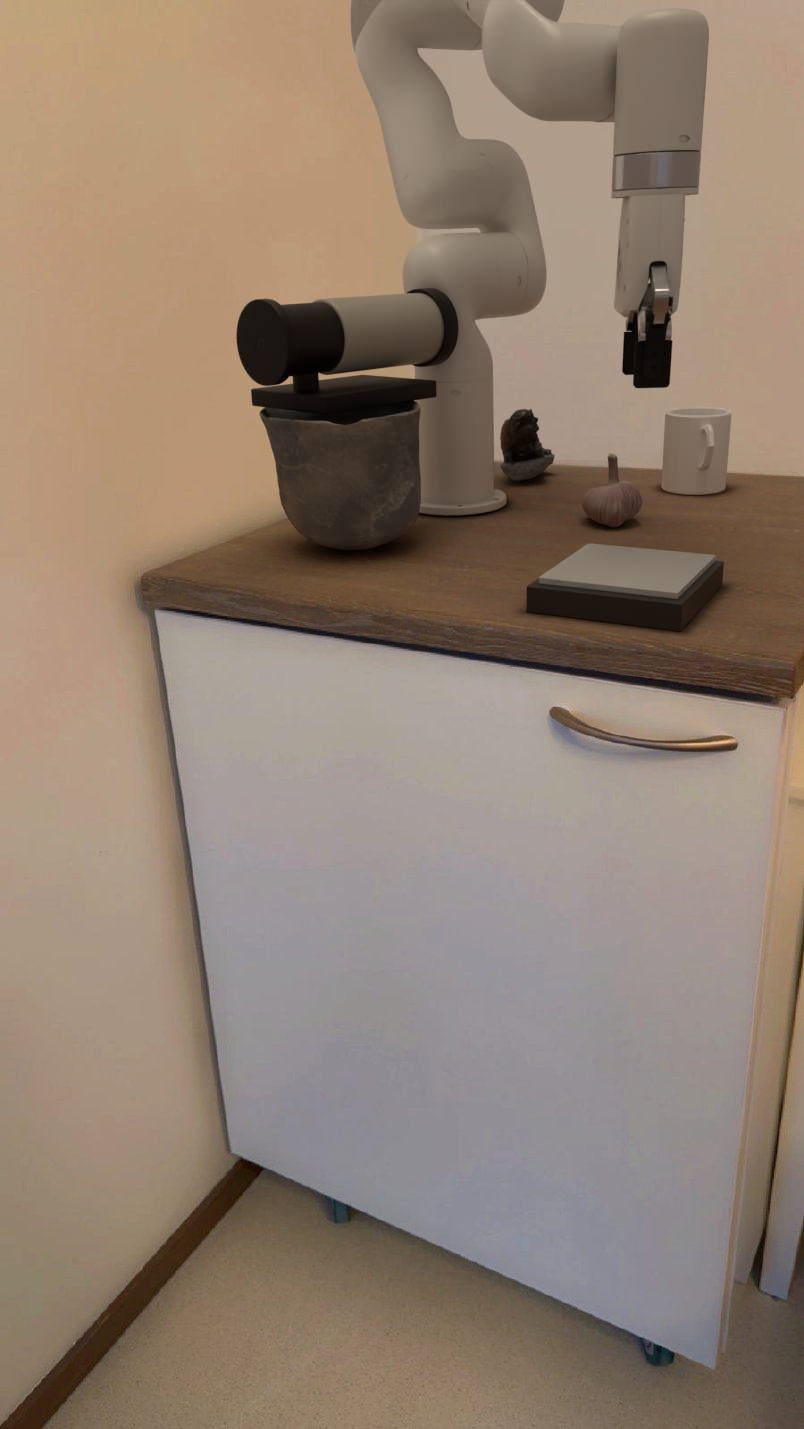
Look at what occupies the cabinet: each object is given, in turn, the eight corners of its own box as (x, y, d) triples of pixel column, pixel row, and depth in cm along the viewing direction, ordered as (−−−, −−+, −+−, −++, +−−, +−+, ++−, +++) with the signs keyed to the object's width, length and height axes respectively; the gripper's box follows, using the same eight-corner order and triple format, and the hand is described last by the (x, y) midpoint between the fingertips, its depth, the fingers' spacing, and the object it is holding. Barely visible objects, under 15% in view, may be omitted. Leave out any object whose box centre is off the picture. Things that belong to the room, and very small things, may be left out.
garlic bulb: (619, 533, 120) (621, 461, 117) (565, 524, 125) (566, 455, 122) (654, 519, 125) (658, 450, 122) (601, 512, 130) (603, 445, 127)
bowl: (239, 560, 116) (224, 418, 110) (311, 521, 131) (301, 394, 125) (391, 570, 110) (384, 420, 104) (448, 529, 124) (445, 395, 118)
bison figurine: (507, 470, 156) (507, 399, 152) (556, 470, 154) (557, 398, 150) (496, 488, 145) (496, 411, 141) (548, 488, 143) (549, 410, 139)
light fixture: (221, 298, 109) (393, 288, 125) (230, 409, 113) (396, 385, 129) (297, 298, 101) (471, 288, 117) (304, 418, 105) (471, 392, 121)
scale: (526, 611, 96) (526, 579, 95) (581, 570, 107) (582, 541, 106) (680, 631, 90) (682, 597, 89) (722, 585, 101) (724, 554, 100)
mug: (675, 503, 132) (680, 421, 128) (656, 483, 143) (660, 407, 139) (740, 500, 132) (747, 419, 128) (716, 481, 143) (722, 405, 139)
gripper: (603, 184, 102) (597, 370, 109) (622, 176, 86) (612, 394, 93) (683, 180, 101) (671, 368, 108) (716, 171, 86) (700, 392, 93)
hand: (644, 380), depth 101 cm, fingers open, 9 cm apart
